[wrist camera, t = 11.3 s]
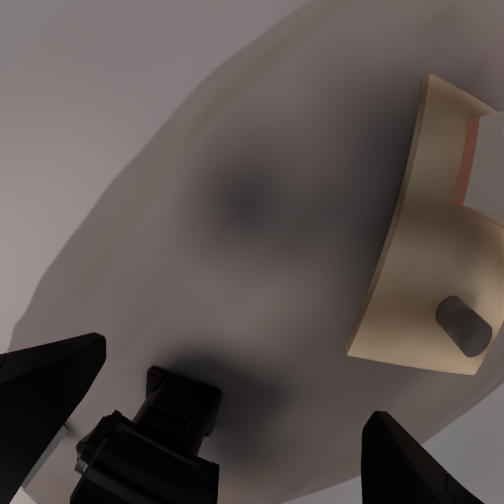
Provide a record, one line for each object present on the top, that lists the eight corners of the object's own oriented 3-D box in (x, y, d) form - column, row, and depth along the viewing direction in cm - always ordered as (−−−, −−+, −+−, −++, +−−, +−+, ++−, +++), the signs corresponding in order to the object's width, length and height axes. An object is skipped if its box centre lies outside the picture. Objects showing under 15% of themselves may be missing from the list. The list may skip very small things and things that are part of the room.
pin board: (468, 367, 20) (495, 405, 15) (344, 346, 21) (357, 395, 15) (540, 151, 15) (584, 152, 9) (422, 77, 15) (460, 52, 10)
